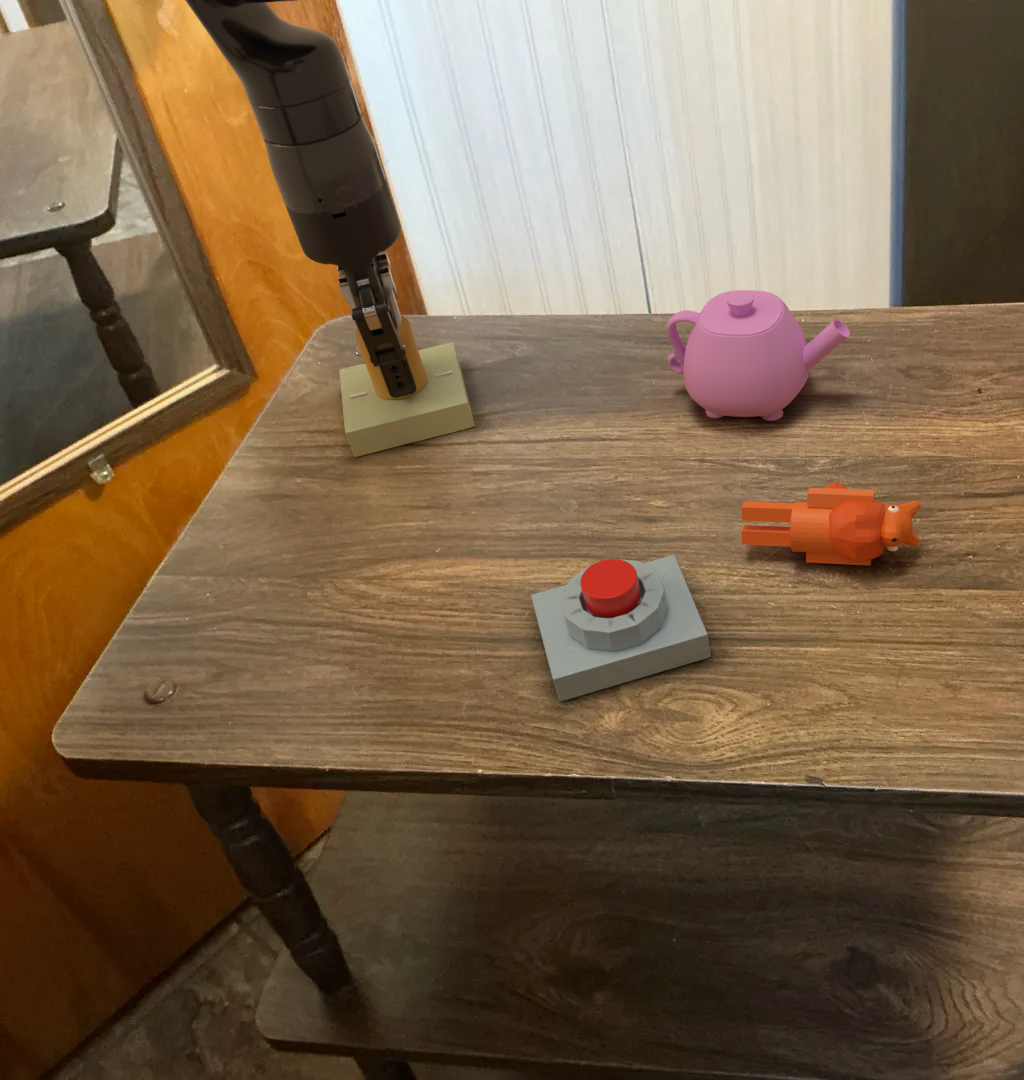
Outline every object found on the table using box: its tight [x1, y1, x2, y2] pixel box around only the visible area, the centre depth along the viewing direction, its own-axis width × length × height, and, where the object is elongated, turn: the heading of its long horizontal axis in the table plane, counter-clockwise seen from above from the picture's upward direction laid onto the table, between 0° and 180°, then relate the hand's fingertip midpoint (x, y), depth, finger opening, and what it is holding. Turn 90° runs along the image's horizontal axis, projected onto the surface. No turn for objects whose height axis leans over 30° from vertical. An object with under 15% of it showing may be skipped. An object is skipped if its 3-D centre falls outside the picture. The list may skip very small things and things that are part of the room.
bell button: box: [580, 558, 641, 618], centre depth 72 cm, size 4×4×2 cm
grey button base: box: [530, 554, 712, 702], centre depth 74 cm, size 10×8×4 cm
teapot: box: [666, 289, 851, 422], centre depth 91 cm, size 10×15×9 cm
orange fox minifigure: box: [741, 482, 921, 566], centre depth 78 cm, size 5×8×12 cm
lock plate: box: [338, 341, 476, 458], centre depth 97 cm, size 10×10×3 cm
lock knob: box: [354, 314, 427, 400], centre depth 94 cm, size 4×4×6 cm
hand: (401, 376), depth 95 cm, fingers closed on lock knob, 4 cm apart
